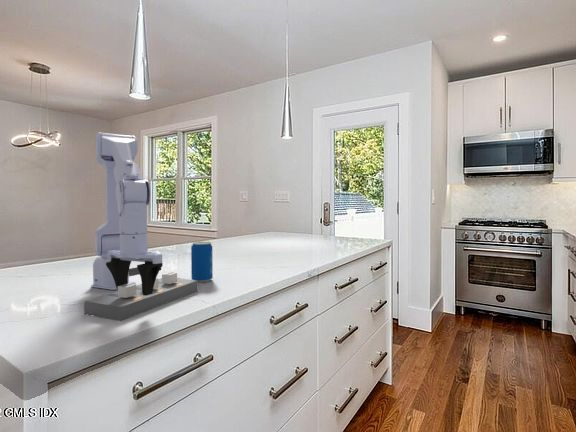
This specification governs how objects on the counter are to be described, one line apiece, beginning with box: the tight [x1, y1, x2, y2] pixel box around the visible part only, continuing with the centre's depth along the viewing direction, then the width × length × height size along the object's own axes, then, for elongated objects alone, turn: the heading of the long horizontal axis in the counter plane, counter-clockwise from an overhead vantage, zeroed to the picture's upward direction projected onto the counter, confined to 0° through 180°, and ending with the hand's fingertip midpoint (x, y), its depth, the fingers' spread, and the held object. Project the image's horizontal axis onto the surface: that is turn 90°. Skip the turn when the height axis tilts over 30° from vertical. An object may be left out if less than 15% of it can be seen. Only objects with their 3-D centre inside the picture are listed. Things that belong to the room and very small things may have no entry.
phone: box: [129, 266, 162, 277], centre depth 122 cm, size 8×1×15 cm
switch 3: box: [161, 271, 178, 284], centre depth 93 cm, size 2×3×2 cm
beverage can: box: [190, 241, 214, 283], centre depth 109 cm, size 6×6×12 cm
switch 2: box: [153, 277, 159, 289], centre depth 86 cm, size 2×3×2 cm
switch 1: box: [118, 283, 137, 298], centre depth 80 cm, size 2×3×2 cm
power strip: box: [83, 277, 199, 322], centre depth 89 cm, size 11×31×3 cm, turn 158°
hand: (134, 292), depth 79 cm, fingers open, 7 cm apart
